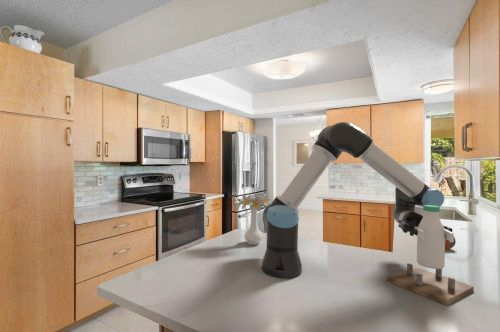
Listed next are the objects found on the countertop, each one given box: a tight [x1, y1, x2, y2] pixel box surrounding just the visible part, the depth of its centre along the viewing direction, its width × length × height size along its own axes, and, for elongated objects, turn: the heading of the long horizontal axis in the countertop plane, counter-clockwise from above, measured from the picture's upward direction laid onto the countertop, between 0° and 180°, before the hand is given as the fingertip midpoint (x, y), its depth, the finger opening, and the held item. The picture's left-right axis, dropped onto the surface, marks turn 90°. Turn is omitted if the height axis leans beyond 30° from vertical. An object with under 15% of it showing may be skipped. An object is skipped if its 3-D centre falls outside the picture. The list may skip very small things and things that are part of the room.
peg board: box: [386, 263, 475, 306], centre depth 89 cm, size 18×18×5 cm
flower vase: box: [234, 192, 272, 246], centre depth 132 cm, size 13×18×25 cm
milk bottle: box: [416, 205, 446, 270], centre depth 89 cm, size 8×8×20 cm
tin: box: [445, 237, 456, 250], centre depth 131 cm, size 15×3×8 cm, turn 69°
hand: (437, 236), depth 84 cm, fingers closed on milk bottle, 7 cm apart
